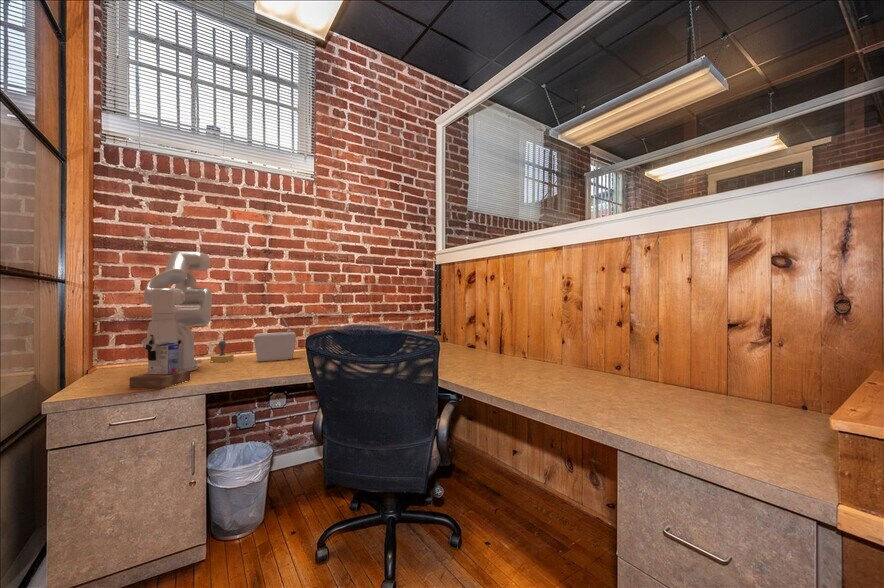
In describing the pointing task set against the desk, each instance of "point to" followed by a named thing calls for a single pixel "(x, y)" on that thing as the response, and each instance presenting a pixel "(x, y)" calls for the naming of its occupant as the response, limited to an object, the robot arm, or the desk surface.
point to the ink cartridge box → (165, 360)
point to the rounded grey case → (275, 345)
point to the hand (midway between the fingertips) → (163, 358)
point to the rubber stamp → (222, 354)
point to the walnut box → (159, 380)
